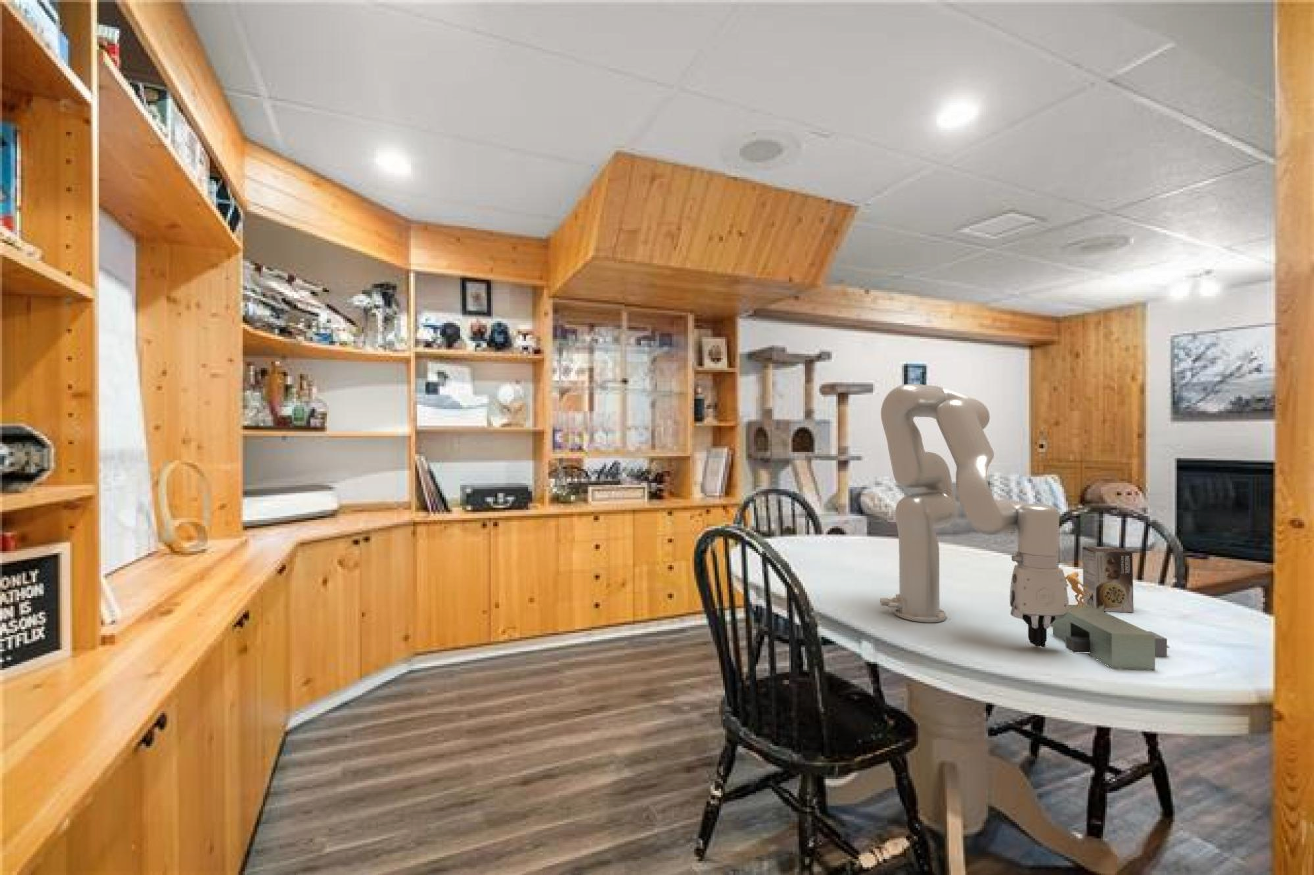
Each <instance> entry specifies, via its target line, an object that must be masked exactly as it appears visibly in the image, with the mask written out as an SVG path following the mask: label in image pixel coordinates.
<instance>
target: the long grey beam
mask: <svg viewBox="0 0 1314 875" xmlns="http://www.w3.org/2000/svg"><path fill="white" fill-rule="evenodd" d="M1147 631H1148V630H1147ZM1148 632H1150V633H1152V634H1154V635H1155V658H1165V657H1167V658H1168V649H1170V646H1169V644H1168V641H1167V640H1168V639H1167V638H1166V637H1164V636H1162V635H1160V634H1158V633H1156V632H1153V631H1151V630H1150V631H1148ZM1065 647H1066V649H1068V650H1069V651H1071V650H1072V651H1073V652H1072V651H1071V652H1072V653H1074V652H1090V637H1072V636H1066V642H1065Z"/></svg>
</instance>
